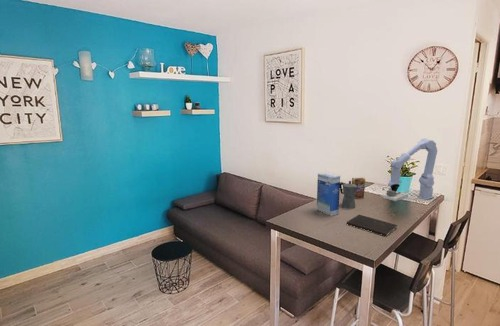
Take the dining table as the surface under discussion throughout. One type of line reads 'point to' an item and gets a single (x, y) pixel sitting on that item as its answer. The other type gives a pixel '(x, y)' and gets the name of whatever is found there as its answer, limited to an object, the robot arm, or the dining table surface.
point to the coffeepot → (348, 194)
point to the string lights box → (328, 193)
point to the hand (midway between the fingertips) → (393, 193)
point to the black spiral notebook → (372, 224)
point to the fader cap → (391, 193)
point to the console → (395, 198)
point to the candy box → (359, 187)
